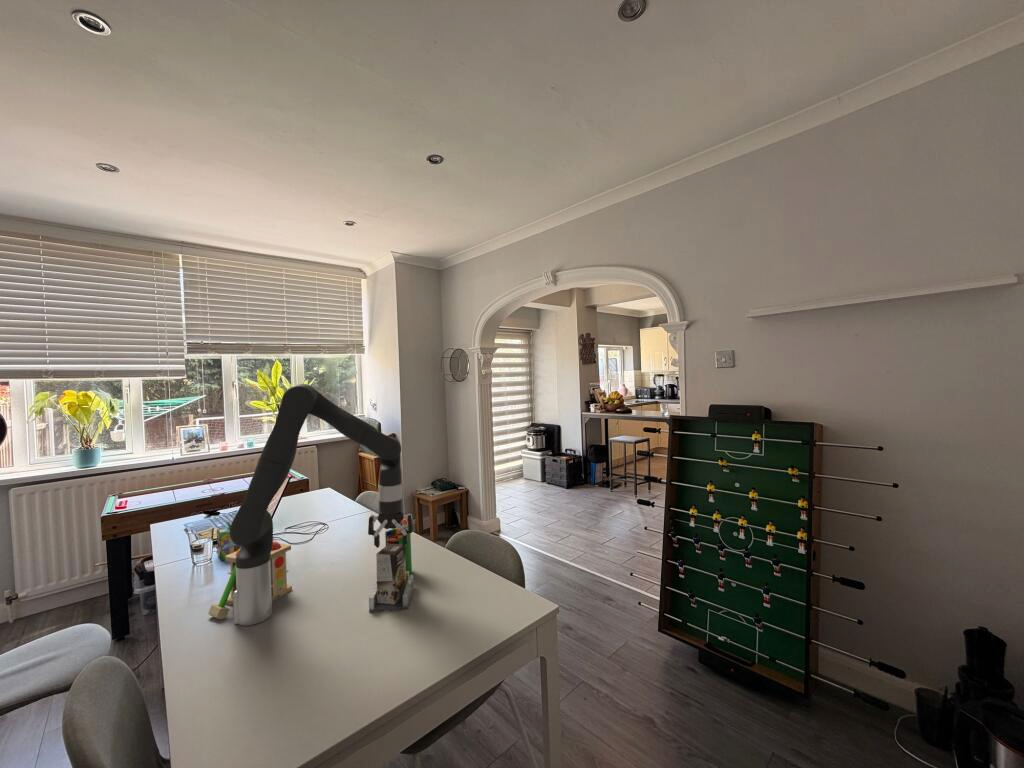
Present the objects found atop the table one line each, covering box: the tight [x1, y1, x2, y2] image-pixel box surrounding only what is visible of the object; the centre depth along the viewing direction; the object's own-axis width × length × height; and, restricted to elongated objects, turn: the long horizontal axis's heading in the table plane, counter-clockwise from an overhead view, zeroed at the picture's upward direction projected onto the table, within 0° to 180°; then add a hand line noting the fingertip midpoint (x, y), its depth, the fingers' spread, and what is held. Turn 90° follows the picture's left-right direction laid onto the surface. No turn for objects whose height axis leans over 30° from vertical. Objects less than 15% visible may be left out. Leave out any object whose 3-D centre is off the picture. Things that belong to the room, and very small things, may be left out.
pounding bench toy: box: [207, 541, 293, 620], centre depth 140 cm, size 23×14×18 cm, turn 160°
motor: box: [384, 518, 413, 575], centre depth 159 cm, size 10×9×20 cm
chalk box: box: [216, 520, 241, 562], centre depth 180 cm, size 9×9×15 cm
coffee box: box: [376, 544, 406, 604], centre depth 139 cm, size 9×6×16 cm
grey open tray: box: [368, 571, 415, 613], centre depth 140 cm, size 12×14×6 cm
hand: (391, 546), depth 140 cm, fingers open, 8 cm apart
